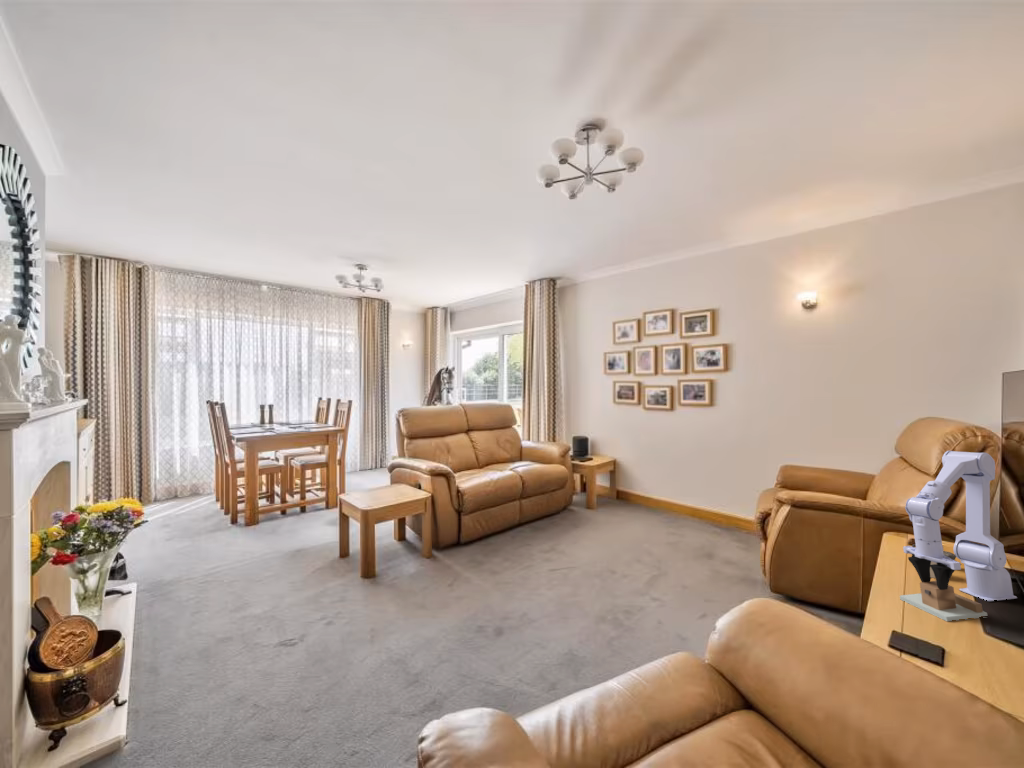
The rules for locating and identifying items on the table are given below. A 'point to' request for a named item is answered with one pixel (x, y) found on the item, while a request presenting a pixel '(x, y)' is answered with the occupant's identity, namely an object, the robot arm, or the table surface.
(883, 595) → the table surface
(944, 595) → the cabinet block
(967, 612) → the wall board
